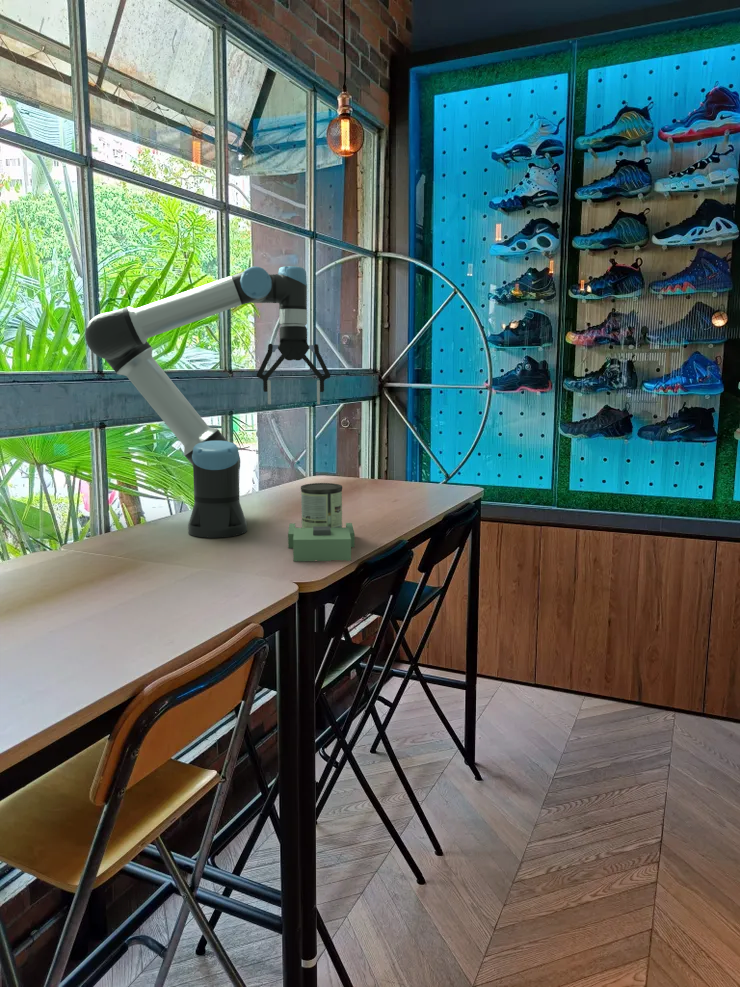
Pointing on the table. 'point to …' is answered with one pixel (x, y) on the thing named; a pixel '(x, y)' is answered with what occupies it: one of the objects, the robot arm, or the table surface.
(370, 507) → the table surface
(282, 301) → the robot arm
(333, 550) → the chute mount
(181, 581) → the table surface
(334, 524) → the coffee can
